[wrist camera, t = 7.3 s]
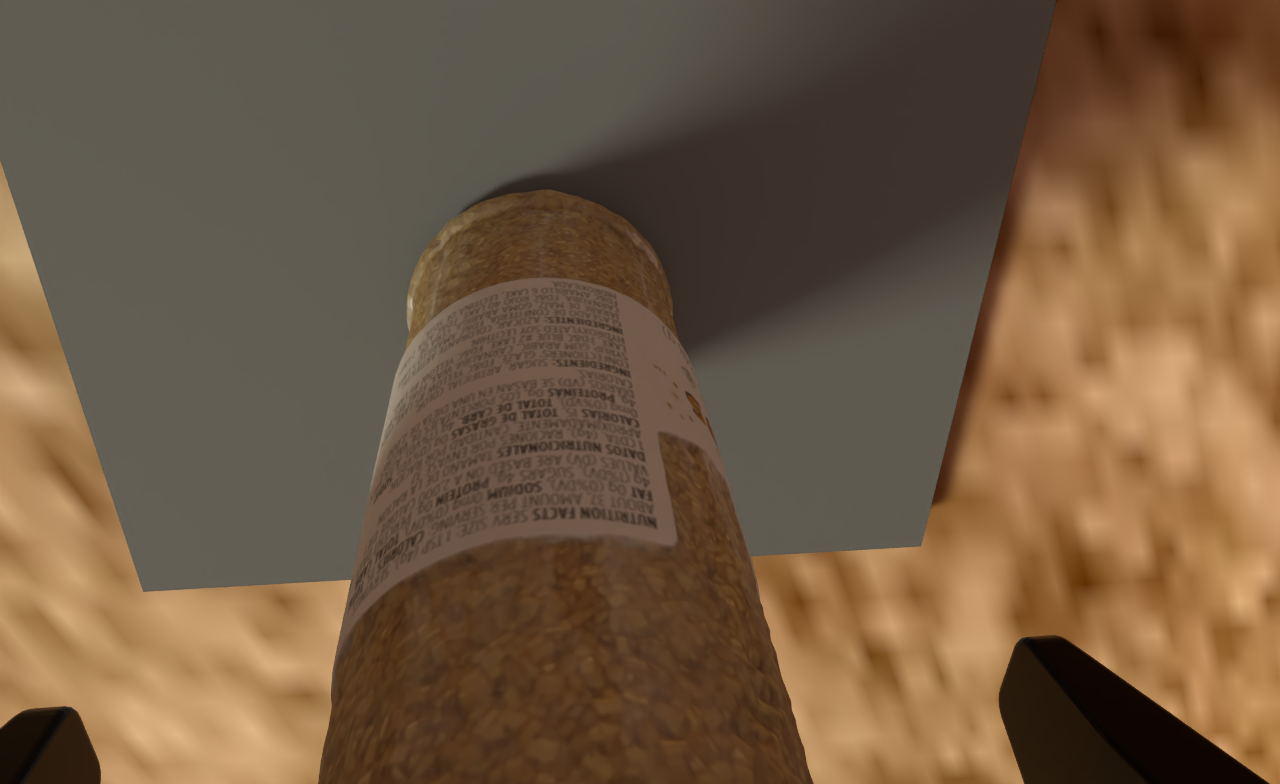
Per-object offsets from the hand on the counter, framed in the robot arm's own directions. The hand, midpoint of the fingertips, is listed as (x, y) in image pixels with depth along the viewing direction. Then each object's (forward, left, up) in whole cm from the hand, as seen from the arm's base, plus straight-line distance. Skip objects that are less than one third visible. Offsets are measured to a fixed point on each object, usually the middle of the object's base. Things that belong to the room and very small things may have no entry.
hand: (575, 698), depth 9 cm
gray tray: (0, 0, -10) cm, 10 cm away
